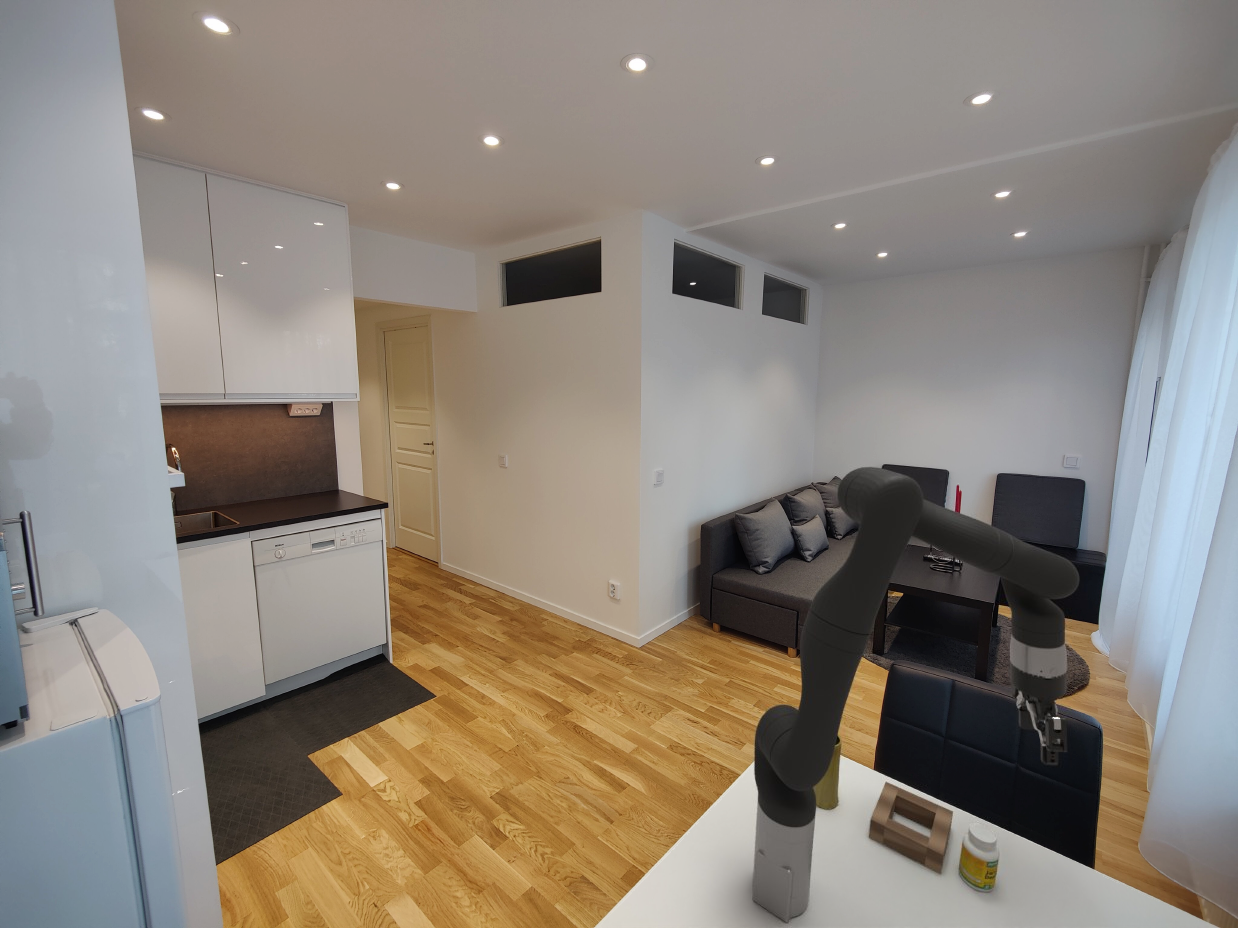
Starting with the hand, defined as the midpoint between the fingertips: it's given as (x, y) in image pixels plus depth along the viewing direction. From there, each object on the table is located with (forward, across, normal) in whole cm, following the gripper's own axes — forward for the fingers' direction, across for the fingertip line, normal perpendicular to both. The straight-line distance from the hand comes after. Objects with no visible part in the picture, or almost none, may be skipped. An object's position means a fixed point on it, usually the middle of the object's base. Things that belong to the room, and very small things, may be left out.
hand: (1037, 745), depth 92 cm
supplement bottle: (+22, +7, -12) cm, 26 cm away
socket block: (+21, 0, -21) cm, 30 cm away
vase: (+20, -4, -36) cm, 41 cm away
